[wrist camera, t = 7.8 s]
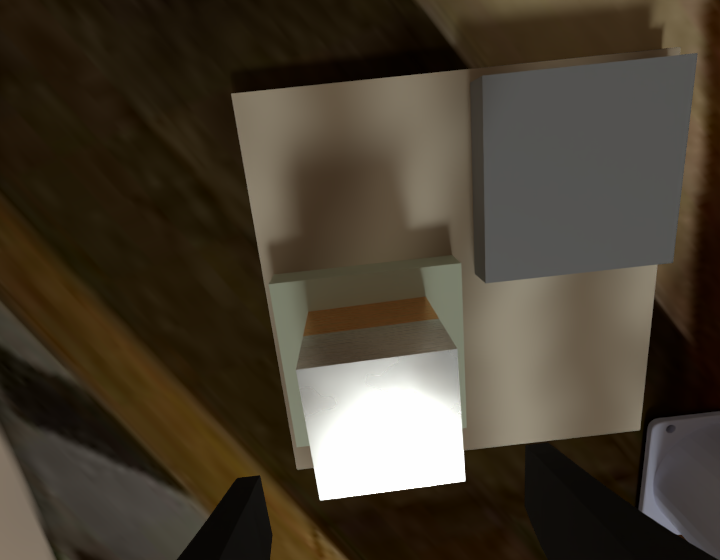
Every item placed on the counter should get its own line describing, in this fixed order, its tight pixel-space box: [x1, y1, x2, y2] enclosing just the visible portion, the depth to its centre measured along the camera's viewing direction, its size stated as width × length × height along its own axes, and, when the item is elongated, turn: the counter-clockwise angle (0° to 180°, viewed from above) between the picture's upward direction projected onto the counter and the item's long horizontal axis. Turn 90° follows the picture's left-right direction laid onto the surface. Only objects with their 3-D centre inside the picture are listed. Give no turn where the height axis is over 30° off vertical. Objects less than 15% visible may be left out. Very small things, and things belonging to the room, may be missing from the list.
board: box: [231, 47, 681, 470], centre depth 20 cm, size 18×18×1 cm
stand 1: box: [269, 255, 467, 447], centre depth 19 cm, size 8×8×2 cm
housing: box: [296, 297, 465, 500], centre depth 16 cm, size 5×5×5 cm
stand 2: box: [470, 53, 697, 283], centre depth 17 cm, size 8×8×2 cm
